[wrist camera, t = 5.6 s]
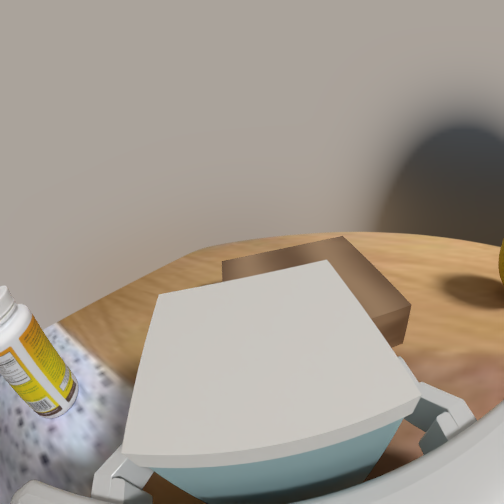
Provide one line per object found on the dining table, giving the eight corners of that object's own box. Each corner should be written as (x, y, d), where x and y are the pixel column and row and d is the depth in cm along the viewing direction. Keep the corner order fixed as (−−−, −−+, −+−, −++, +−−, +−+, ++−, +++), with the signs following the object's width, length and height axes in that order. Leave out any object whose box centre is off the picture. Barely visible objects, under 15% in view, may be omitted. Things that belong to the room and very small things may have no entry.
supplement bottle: (66, 366, 20) (10, 274, 15) (91, 394, 17) (20, 287, 12) (29, 398, 15) (-35, 307, 11) (48, 432, 13) (-38, 331, 8)
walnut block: (240, 392, 17) (226, 354, 15) (230, 296, 28) (221, 261, 26) (401, 347, 17) (411, 304, 15) (343, 270, 28) (342, 236, 26)
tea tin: (233, 518, 8) (121, 453, 4) (225, 427, 14) (159, 294, 10) (357, 493, 8) (421, 394, 4) (326, 406, 14) (326, 259, 10)
